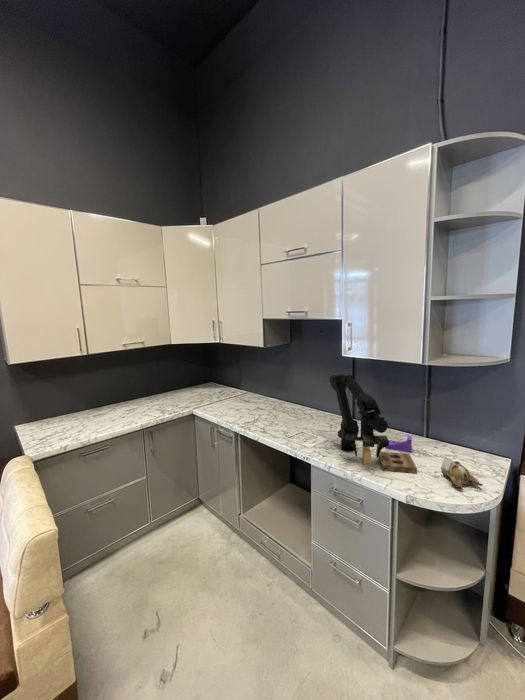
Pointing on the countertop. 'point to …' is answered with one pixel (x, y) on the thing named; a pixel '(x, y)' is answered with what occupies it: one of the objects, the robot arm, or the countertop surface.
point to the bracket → (401, 445)
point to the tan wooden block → (366, 455)
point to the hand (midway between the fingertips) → (366, 457)
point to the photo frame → (310, 443)
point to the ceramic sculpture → (458, 473)
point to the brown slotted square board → (397, 462)
